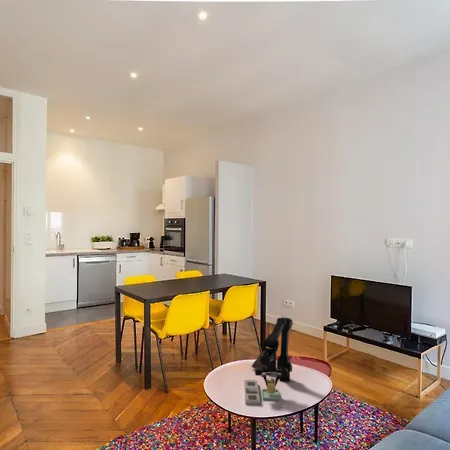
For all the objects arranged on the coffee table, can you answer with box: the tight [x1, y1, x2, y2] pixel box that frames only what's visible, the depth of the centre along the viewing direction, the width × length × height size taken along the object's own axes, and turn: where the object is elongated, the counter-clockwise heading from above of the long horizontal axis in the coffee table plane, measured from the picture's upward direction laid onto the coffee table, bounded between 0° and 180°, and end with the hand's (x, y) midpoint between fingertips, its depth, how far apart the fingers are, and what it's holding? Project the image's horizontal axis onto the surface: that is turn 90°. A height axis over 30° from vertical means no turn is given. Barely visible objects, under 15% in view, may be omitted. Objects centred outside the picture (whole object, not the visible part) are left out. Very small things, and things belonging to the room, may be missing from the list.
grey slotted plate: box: [243, 379, 261, 405], centre depth 210 cm, size 8×24×3 cm, turn 178°
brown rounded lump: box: [251, 351, 271, 374], centre depth 245 cm, size 10×15×15 cm
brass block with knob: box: [266, 377, 276, 394], centre depth 208 cm, size 4×4×7 cm
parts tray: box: [261, 388, 281, 401], centre depth 208 cm, size 10×10×2 cm
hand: (270, 386), depth 208 cm, fingers closed on brass block with knob, 4 cm apart
